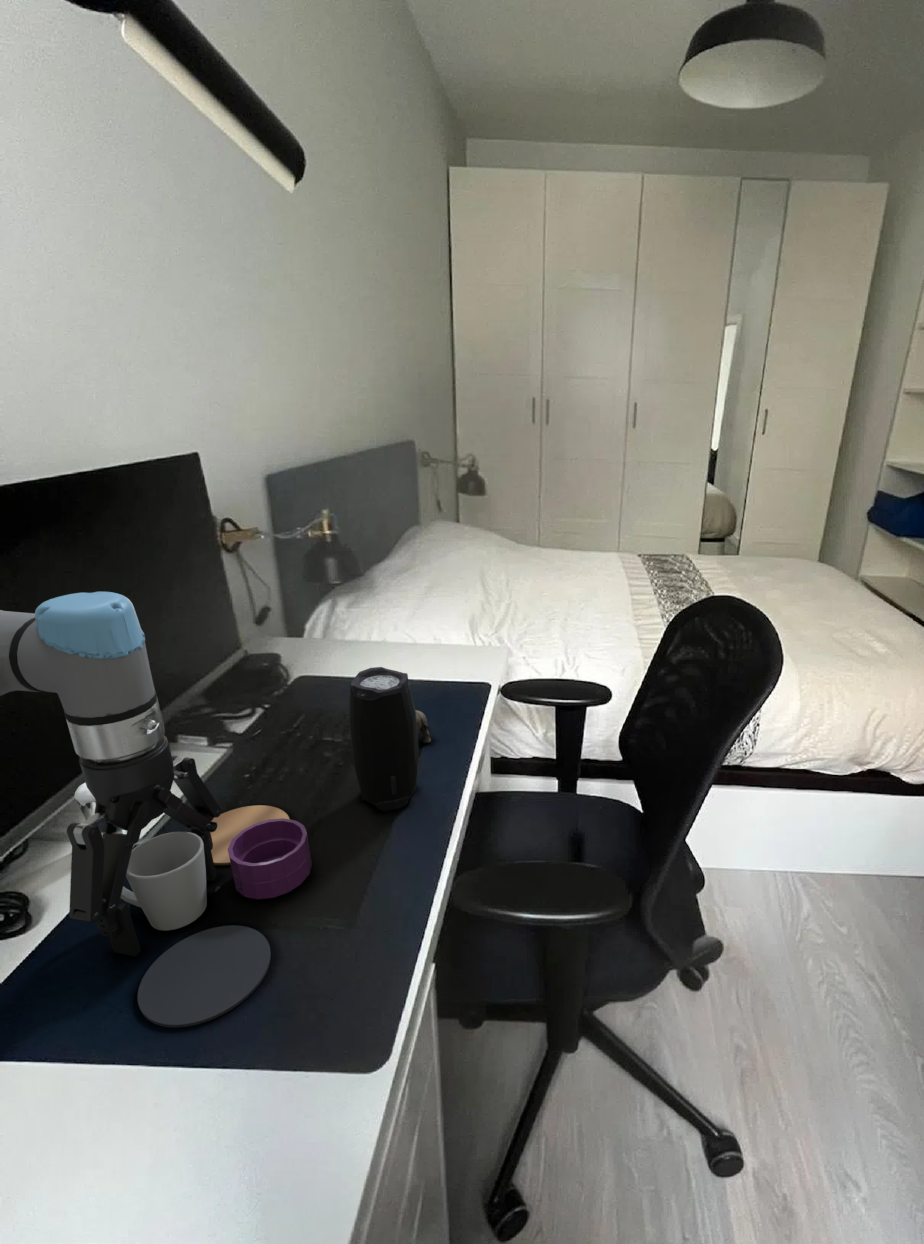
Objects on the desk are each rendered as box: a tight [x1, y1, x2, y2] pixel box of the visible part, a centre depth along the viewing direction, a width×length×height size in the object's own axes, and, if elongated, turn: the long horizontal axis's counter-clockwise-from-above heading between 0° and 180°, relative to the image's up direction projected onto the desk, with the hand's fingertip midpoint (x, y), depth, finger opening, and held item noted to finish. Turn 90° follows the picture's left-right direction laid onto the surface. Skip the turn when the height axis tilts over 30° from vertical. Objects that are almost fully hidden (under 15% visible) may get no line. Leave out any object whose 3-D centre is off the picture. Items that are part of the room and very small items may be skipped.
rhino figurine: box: [415, 709, 432, 744], centre depth 110 cm, size 4×14×6 cm, turn 63°
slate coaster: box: [136, 924, 272, 1029], centre depth 65 cm, size 12×12×1 cm
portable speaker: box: [348, 666, 420, 812], centre depth 90 cm, size 9×9×20 cm
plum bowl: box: [228, 818, 313, 900], centre depth 77 cm, size 9×9×6 cm
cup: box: [120, 831, 208, 931], centre depth 70 cm, size 8×10×8 cm
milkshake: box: [74, 782, 127, 834], centre depth 81 cm, size 4×5×10 cm
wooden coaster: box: [210, 804, 290, 866], centre depth 85 cm, size 12×12×1 cm
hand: (169, 911), depth 72 cm, fingers open, 11 cm apart
